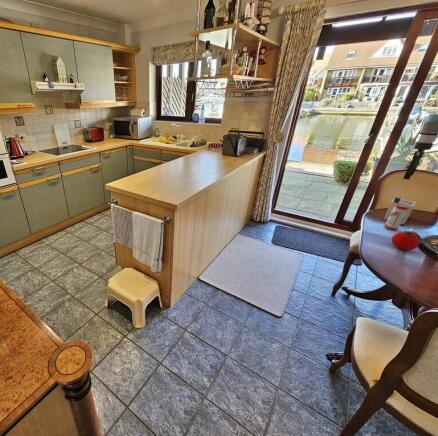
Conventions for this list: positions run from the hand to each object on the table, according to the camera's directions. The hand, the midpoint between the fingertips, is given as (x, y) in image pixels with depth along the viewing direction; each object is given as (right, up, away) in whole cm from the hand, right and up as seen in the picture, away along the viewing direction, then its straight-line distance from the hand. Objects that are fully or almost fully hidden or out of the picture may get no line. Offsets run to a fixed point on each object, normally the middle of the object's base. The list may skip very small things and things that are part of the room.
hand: (407, 177), depth 154 cm
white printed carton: (+1, -27, +9) cm, 29 cm away
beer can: (-13, -33, -1) cm, 35 cm away
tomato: (-26, -43, -21) cm, 54 cm away
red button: (-15, -36, -15) cm, 42 cm away
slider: (-4, -16, +4) cm, 16 cm away
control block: (-15, -39, -14) cm, 44 cm away
